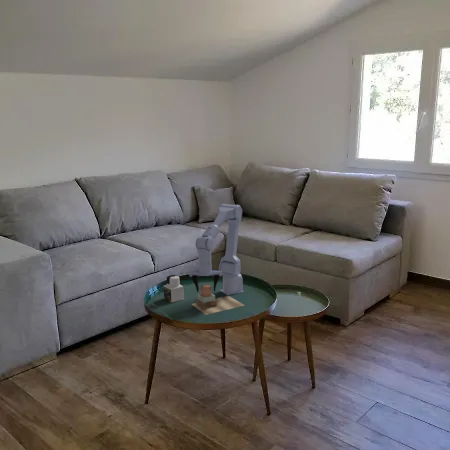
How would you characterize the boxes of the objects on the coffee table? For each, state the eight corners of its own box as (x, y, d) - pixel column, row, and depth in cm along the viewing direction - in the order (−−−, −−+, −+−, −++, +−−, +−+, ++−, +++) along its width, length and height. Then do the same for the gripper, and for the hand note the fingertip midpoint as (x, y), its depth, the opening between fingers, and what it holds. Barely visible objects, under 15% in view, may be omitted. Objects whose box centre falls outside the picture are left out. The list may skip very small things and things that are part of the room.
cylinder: (208, 292, 228) (208, 284, 227) (213, 295, 224) (213, 287, 223) (199, 294, 226) (198, 286, 225) (203, 297, 222) (203, 289, 221)
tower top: (209, 296, 229) (209, 291, 229) (215, 300, 224) (215, 295, 224) (197, 299, 226) (197, 294, 226) (203, 303, 221) (203, 298, 221)
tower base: (209, 301, 231) (209, 296, 230) (216, 305, 225) (216, 300, 224) (196, 304, 227) (196, 299, 227) (203, 309, 221) (203, 303, 221)
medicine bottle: (163, 299, 236) (162, 275, 233) (176, 296, 240) (175, 272, 237) (171, 303, 230) (170, 279, 228) (184, 300, 234) (183, 276, 232)
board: (228, 296, 237) (228, 295, 237) (244, 306, 224) (244, 305, 224) (191, 305, 228) (191, 304, 228) (206, 315, 215) (206, 314, 215)
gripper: (188, 265, 218) (189, 294, 221) (221, 264, 217) (221, 293, 220) (189, 260, 225) (190, 288, 228) (221, 260, 224) (222, 288, 227)
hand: (206, 290), depth 224 cm, fingers open, 7 cm apart
